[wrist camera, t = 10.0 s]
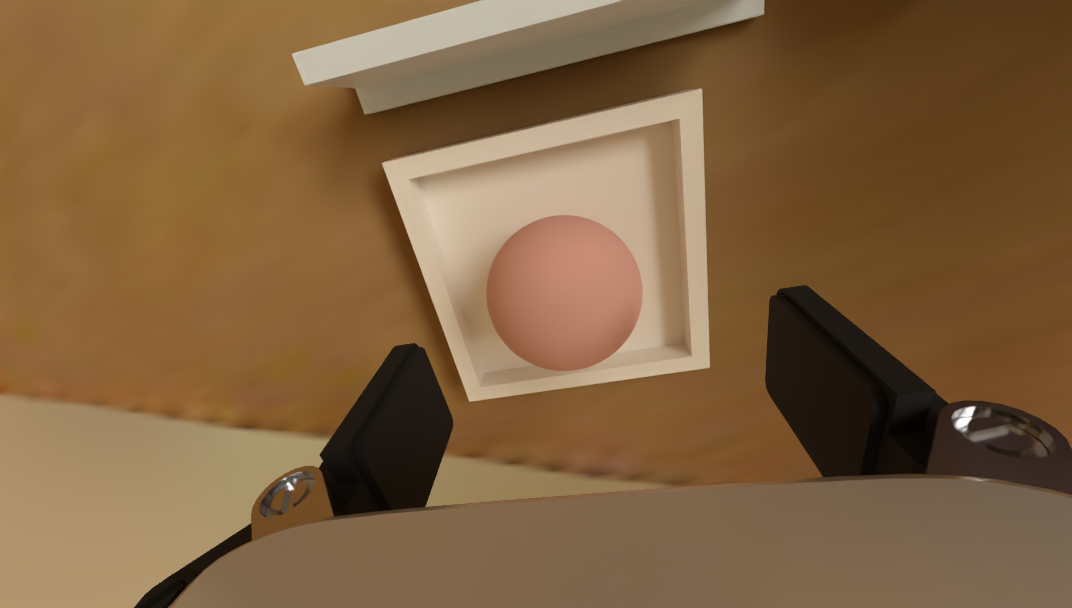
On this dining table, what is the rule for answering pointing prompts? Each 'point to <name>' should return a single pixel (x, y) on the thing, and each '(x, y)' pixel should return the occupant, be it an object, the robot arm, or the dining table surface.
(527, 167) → the dish
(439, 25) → the divider wall
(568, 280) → the ball
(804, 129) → the dining table surface
